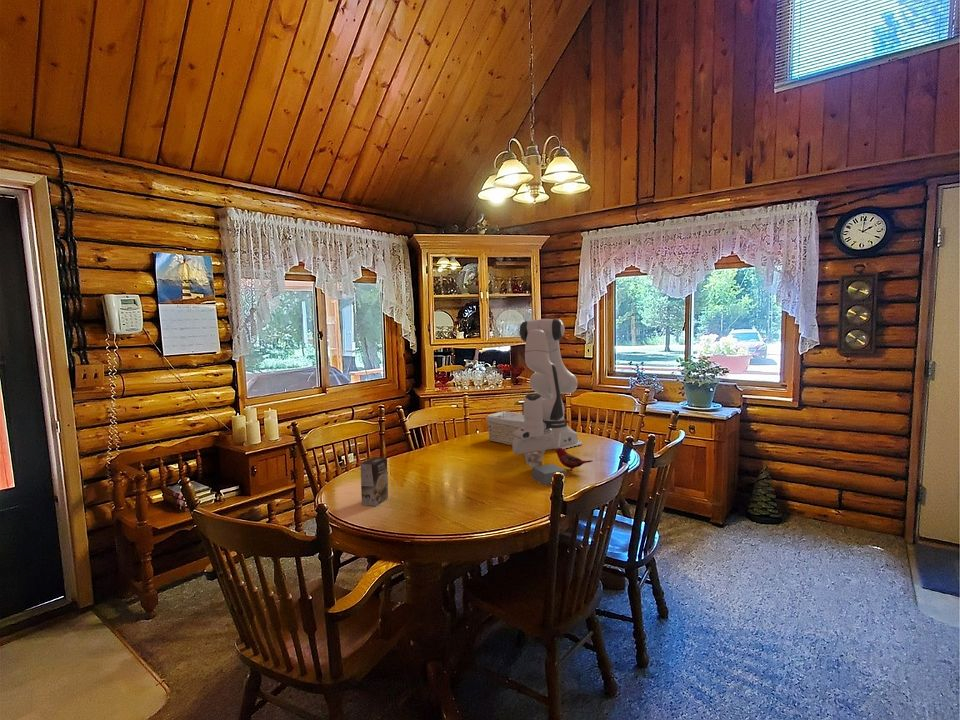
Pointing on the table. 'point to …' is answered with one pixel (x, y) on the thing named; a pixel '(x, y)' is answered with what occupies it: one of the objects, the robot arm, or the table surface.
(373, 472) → the coffee box
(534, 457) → the cream cube
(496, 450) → the table surface
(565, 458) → the decorative bird figurine
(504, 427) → the storage basket
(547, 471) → the grey block
